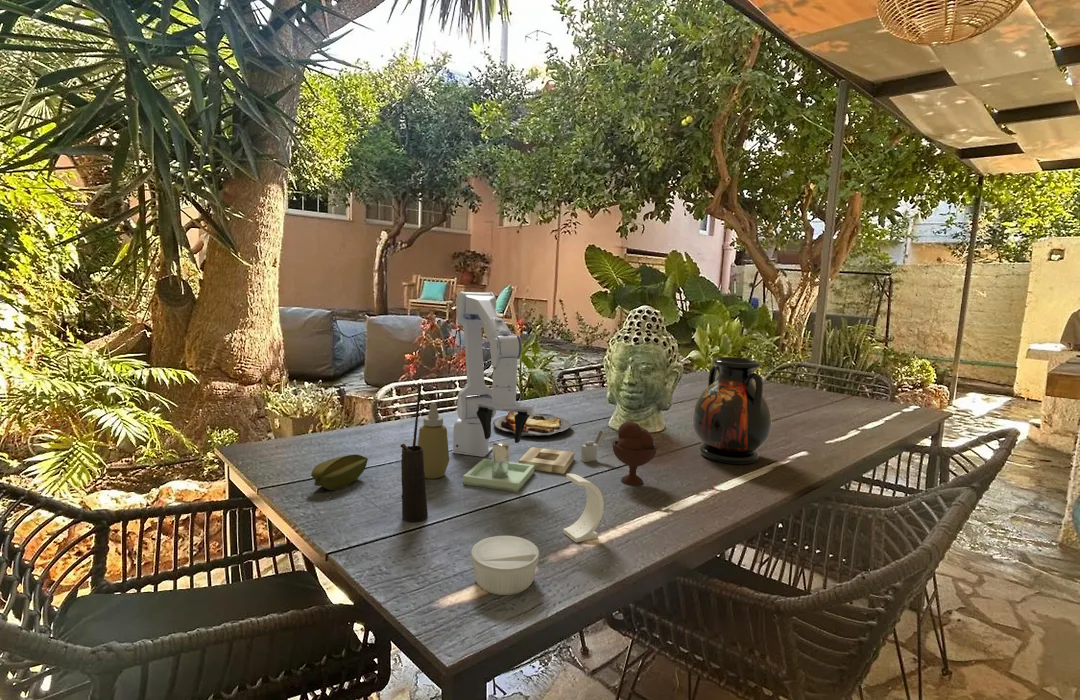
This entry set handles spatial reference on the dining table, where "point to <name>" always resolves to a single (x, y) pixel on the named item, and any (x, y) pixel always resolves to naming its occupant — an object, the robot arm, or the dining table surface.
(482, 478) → the tray
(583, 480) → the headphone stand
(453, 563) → the dining table surface
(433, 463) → the squeeze bottle
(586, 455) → the lighter
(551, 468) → the socket block
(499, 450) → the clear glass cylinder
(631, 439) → the ice cream bowl
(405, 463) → the butter churn
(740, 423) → the amphora vase
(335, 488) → the fruit
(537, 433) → the food plate
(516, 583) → the ramekin
